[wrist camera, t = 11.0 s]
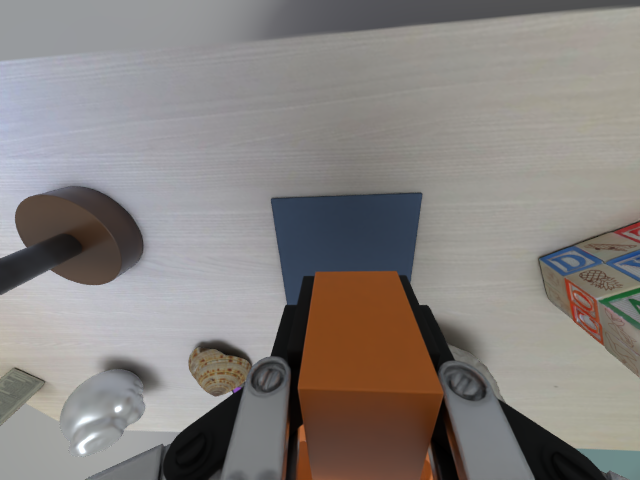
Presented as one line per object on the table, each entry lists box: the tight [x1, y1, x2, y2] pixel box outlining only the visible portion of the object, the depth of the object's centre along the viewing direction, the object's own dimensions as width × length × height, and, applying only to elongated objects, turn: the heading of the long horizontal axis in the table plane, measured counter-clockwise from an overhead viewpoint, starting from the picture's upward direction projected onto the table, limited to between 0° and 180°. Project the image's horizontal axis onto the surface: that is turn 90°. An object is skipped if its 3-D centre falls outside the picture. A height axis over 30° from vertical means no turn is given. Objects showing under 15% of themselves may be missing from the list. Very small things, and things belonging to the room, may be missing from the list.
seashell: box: [189, 347, 251, 397], centre depth 34 cm, size 8×6×8 cm
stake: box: [0, 186, 143, 295], centre depth 20 cm, size 10×10×14 cm
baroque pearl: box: [60, 369, 145, 457], centre depth 33 cm, size 9×10×10 cm
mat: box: [271, 193, 422, 305], centre depth 25 cm, size 14×14×1 cm
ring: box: [298, 271, 444, 480], centre depth 10 cm, size 16×11×4 cm
